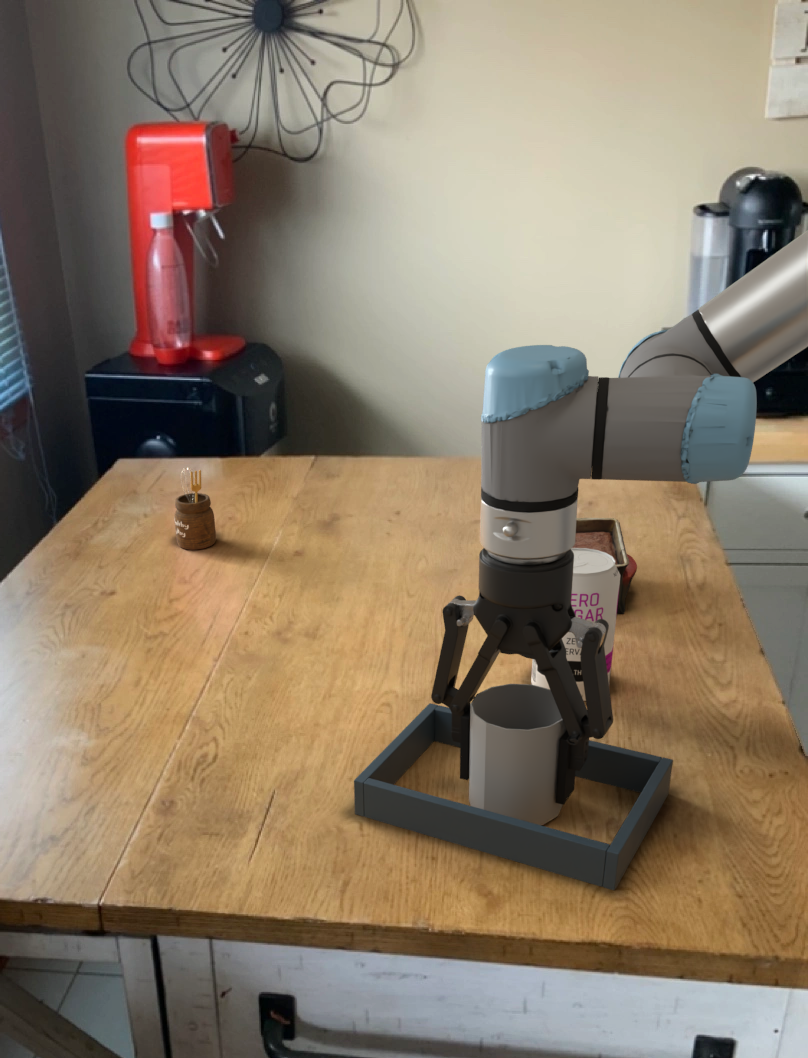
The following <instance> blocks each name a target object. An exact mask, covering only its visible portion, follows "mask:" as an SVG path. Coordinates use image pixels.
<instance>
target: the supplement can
mask: <svg viewBox="0 0 808 1058" xmlns="http://www.w3.org/2000/svg"><path fill="white" fill-rule="evenodd" d="M571 550H572V551H573V553H574V565H573V581H572V594H571V605H572V608H573V610H574V612H575V615H576V617H578V618H581V619H584V620H587V621H590V622H594V623H595V621H597V620H598V619H604V620H606V621H607V622H608V625H609V629H608V633H607V636H606V640H605V644H604V650H605V657H606V665H607V673H608V681H609V686H610V684H611V675H612V665H613V653H614V645H615V634H616V623H617V615H618V614H617V605H618V595H619V585H620V573H619V571H618V569H617V567H616V565H615V560H614V558H613V557H612V556H611V555H609V554H607V553H605V552H602V551H599V550H594V549H587V548H571ZM562 641H563V643H564V646H565V648H566V658H567V661H568V663H569V666H570V668H571V671H572V673H573V676H574V678H575V681H576V683H577V686H578V688H579V691H580V693H581V696H582V698H583V701H584V702H586V698H585V690H584V683H583V675H582V668H581V659H580V657H581V649H582V648H578V647H577V645H576V638H575V635H574V634H573V633H572V632H568V633H567V634H566V635H565V636H564V637H563V638H562ZM531 660H532V661H531V675H530V676H531V677H530V684H531V685H536V686H539V687H543V688H547V689H550V688H549V685H548V683H547V680H546V678H545V675H544V673H543V672H542V671H540V670H539V668H538V666H537V663H536V661H535V659H531Z"/></svg>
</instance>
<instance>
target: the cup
mask: <svg viewBox="0 0 808 1058" xmlns="http://www.w3.org/2000/svg"><path fill="white" fill-rule="evenodd" d="M566 730H567V729H566V727H565V725H564V722H563V720H562V717H561V715H560V712H559V710H558V707H557V705H556V702H555V700H554V697H553V695H552V693H551V690H550V689H547V688H543V687H539V686H536V685H532V683H530V684H529V683H506V684H501V685H495V686H490V687H488V688H487V689H484V690H482V691H480V692H477V693H476V695H475V698H474V699H473V700H472V701H471V702H470V754H469V779H468V802H469V806H472V807H476V808H480V809H483V810H487V811H491V812H494V813H498V814H501V815H505V816H509V817H512V818H516V819H520V820H523V821H527V822H531V823H534V824H538V825H541V826H545V824H547V823H549V822H550V821H553V820H554V819H555V818H557V817H559V814H560V812H561V810H562V808H563V806H564V805H562V804H558V803H555V802H556V787H557V772H558V756H559V741H560V738H561V737H562V735H563V734H564V733H565V731H566Z"/></svg>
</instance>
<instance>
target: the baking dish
mask: <svg viewBox="0 0 808 1058" xmlns="http://www.w3.org/2000/svg"><path fill="white" fill-rule="evenodd" d="M572 548H587V549H594V550H599V551H602V552H605V553H607V554H609V555H611V556H612V557H613V558H614V560H615V565H616V567H617V569H618V571H619V573H620V585H619V595H618V605H617V615H624V614H625V612H626V598H627V595H628V593H629V590H630V587H631V583H632V581H633V579H634V577H635V575H636V573H637V570H638V564H637V562H636V560H635V558H634V557H632V556H631V555H630V554H628V553H627V550H626V549H627V548H626V544H625V542H624V536H623V531H622V527H621V523H620V520H619V519H616V518H615V517H577V519H576V536H575V544H574V546H573V547H572Z"/></svg>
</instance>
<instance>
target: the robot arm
mask: <svg viewBox="0 0 808 1058" xmlns="http://www.w3.org/2000/svg"><path fill="white" fill-rule="evenodd" d="M807 348H808V229H807V230H806V231H804V232H803V233H801V234H800V235H799V236H797V237H796V238H795V239H793V240H792V241H790V242H789V243H788V244H786V245H784V246H783V247H782V248H780V249H779V250H778V251H776V252H775V253H773V254H772V255H770V256H769V257H768V258H767V259H765V260H764V261H762V262H761V263H759V264H758V265H757V266H756V267H754V268H753V269H751V270H750V271H748V272H747V273H745V275H743V276H742V277H740V278H739V279H738V280H736V281H735V282H733V283H732V284H730V285H729V286H728V287H726V288H725V289H723V290H722V291H721V292H719V293H717V294H716V295H715V296H714V297H712V298H711V299H710V300H708V301H706V303H704V304H702V305H701V306H700V307H698V309H696V310H695V311H694V312H693V313H691V314H689V315H687V316H686V317H684V318H683V319H681V320H680V321H679V322H677V323H676V324H674V325H673V326H671V327H670V328H669V329H661V330H659V331H655V332H652V333H650V334H648V335H646V336H644V337H643V338H641V339H640V340H639V341H638V342H636V344H634V346H632V348H631V349H630V350H629V351H628V353H627V355H626V356H625V359H624V360H623V362H622V364H621V366H620V368H619V373H618V376H617V377H607V376H606V377H605V376H604V377H602V376H601V377H599V376H596V375H589V372H590V370H589V369H588V363H587V361H588V360H587V357H586V355H585V353H584V352H582V350H580V349H578V348H575V347H571V346H566V345H564V346H563V345H560V346H556V345H552V344H532V345H524V346H523V345H522V346H516V347H512V348H508V349H505V350H502V351H500V352H498V353H497V354H495V355H494V356H493V357H492V358H491V359H490V361H489V362H488V363H487V364H486V367H485V370H484V371H485V372H484V385H483V387H484V389H483V402H482V413H481V415H480V422H481V436H480V437H481V438H480V439H481V440H480V441H481V447H480V448H481V449H480V451H481V452H480V453H481V456H480V457H481V459H480V463H481V465H480V468H481V469H480V475H481V476H480V514H479V515H480V519H479V526H480V527H479V543H480V546H481V547H482V549H481V550H480V552H479V554H478V592H479V593H478V595H477V596H478V597H477V599H476V600H473V599H472V600H470V599H469V600H468V599H466V598H465V596H463V595H456V596H454V598H453V599H452V600H450V601H449V602H448V603H447V604H446V605H445V606H444V607H443V608H442V619H443V625H444V633H443V638H442V643H441V648H440V653H439V657H438V662H437V666H436V667H437V668H436V671H435V676H434V682H433V685H432V691H431V694H430V698H431V701H432V702H433V704H435V705H441V704H442V705H443V706H445V707H448V708H450V710H451V713H452V731H451V736H452V739H453V742H458V743H460V747H459V779H460V780H464V781H469V754H470V704H471V702H472V701H473V699H474V698H475V696H476V695H477V694H478V691H479V689H480V688H481V686H482V684H483V683H484V681H485V679H486V677H487V676H488V673H489V672H490V670H491V669H492V666H493V665H494V663H495V662H496V660H497V659H498V658H497V657H498V656H499V654H503V655H519V656H521V657H523V658H526V659H529V660H532V659H535V661H536V663H537V666H538V668H539V670H540V671H542V672H543V673H544V675H545V678H546V680H547V683H548V685H549V688H550V690H551V693H552V695H553V697H554V700H555V702H556V705H557V707H558V710H559V712H560V715H561V717H562V720H563V722H564V725H565V727H566V729H567V730H566V731H565V733H564V734H563V735H562V737H561V738H560V741H559V756H558V772H557V787H556V802H555V803H558V804H562V805H563V806H564V805H565V804H566V803H567V801H568V800H569V798H570V796H571V795H572V794H573V793H574V790H575V783H576V776H575V771H576V770H577V771H580V770H581V768H582V767H583V765H584V764H585V762H586V761H587V759H588V746H589V740H590V738H593V739H596V740H601V739H603V738H604V737H605V735H606V734H607V733H608V731H609V730H610V728H611V726H612V725H613V723H614V714H613V707H612V699H611V698H612V697H611V689H610V685H609V681H608V673H607V665H606V657H605V650H604V644H605V640H606V636H607V633H608V629H609V625H608V622H607V621H606V620H604V619H598V620H597V621H595V623H594V622H590V621H587V620H584V619H581V618H578V617H576V615H575V612H574V610H573V608H572V605H571V594H572V581H573V565H574V553H573V551H572V550H571V548H572V547H573V546H574V544H575V536H576V519H577V518H578V499H579V484H580V480H596V481H597V480H598V481H599V480H600V481H603V480H605V481H606V480H609V481H643V482H645V481H646V482H677V483H678V482H680V483H687V484H693V485H697V484H699V483H707V482H708V483H711V482H727V481H728V482H729V481H735V480H737V479H739V478H740V477H742V476H743V475H744V473H745V472H746V471H747V469H748V466H749V463H750V460H751V456H752V452H753V447H754V439H755V432H756V423H757V405H758V404H757V403H758V402H757V389H756V386H755V384H754V382H756V381H758V380H759V379H761V378H762V377H764V376H765V375H766V374H768V373H769V372H771V371H774V369H777V368H778V367H779V366H780V365H782V364H784V363H785V362H787V361H789V359H791V358H793V357H794V356H795V355H797V354H799V353H801V352H802V351H804V350H805V349H807ZM474 617H475V619H476V620H477V622H478V624H479V625H480V626H481V628H482V630H483V631H484V633H485V635H486V637H485V639H484V641H483V643H482V645H481V647H479V648H480V649H479V650H478V652H477V655H476V657H475V659H474V661H473V663H472V664H471V666H470V668H469V670H468V672H467V674H466V676H465V678H464V679H463V680H462V683H461V684H460V686H459V688H457V687H456V683H457V679H458V675H459V671H460V666H461V662H462V658H463V653H464V648H465V644H466V639H467V635H468V630H469V624H470V623H471V622H473V620H474ZM568 632H572V633H573V634H574V635H575V638H576V645H577V647H578V648H582V649H581V657H580V659H581V668H582V675H583V683H584V690H585V698H586V701H583V698H582V696H581V693H580V691H579V688H578V686H577V683H576V681H575V678H574V676H573V673H572V671H571V668H570V666H569V663H568V661H567V658H566V648H565V646H564V643H563V641H562V638H563V637H564V636H565V635H566V634H567V633H568Z"/></svg>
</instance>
